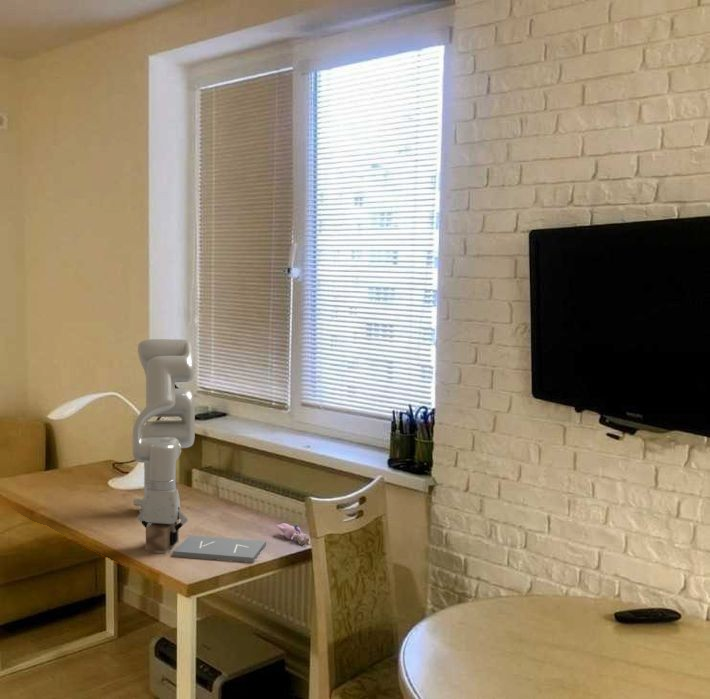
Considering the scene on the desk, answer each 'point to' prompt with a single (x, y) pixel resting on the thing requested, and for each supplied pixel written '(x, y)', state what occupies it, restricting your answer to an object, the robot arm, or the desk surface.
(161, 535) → the block
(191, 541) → the slate board
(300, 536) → the pink plastic figure
